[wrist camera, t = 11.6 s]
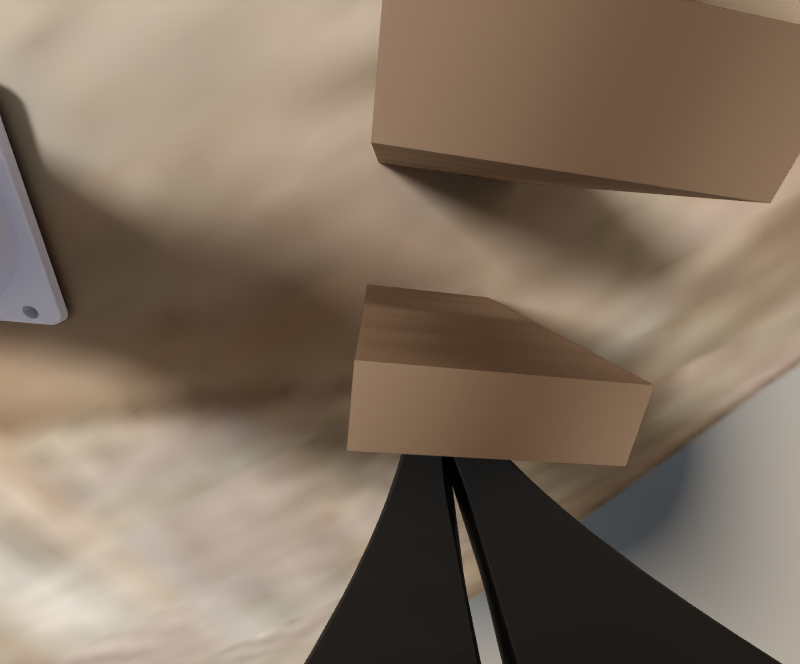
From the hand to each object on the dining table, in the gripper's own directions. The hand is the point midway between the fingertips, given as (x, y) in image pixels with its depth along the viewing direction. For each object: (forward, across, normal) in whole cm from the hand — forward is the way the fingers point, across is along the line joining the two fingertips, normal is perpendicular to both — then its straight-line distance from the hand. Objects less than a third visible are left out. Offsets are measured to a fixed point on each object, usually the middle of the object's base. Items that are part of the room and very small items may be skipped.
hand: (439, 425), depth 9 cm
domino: (+5, -2, -7) cm, 9 cm away
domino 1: (+5, 0, -1) cm, 6 cm away
